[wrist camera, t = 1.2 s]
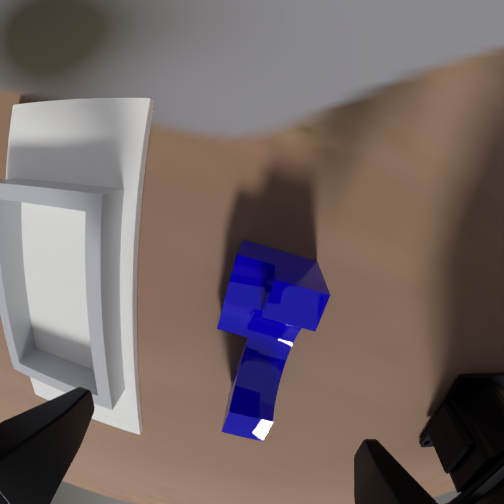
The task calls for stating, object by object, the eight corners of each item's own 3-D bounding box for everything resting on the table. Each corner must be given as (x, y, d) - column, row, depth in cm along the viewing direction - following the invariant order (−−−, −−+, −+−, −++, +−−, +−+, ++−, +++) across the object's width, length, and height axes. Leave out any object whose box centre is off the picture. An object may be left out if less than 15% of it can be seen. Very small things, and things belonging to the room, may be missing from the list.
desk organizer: (154, 100, 13) (131, 89, 10) (142, 428, 18) (130, 455, 16) (19, 105, 13) (-11, 102, 11) (39, 389, 19) (22, 409, 16)
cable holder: (243, 238, 15) (231, 266, 11) (316, 260, 15) (329, 295, 11) (205, 373, 17) (190, 422, 13) (266, 389, 17) (262, 441, 13)
